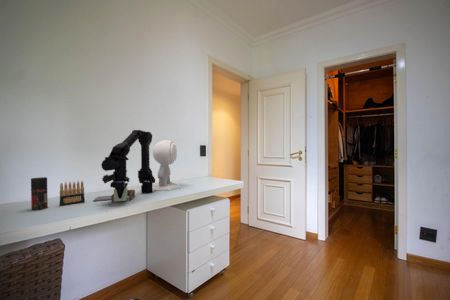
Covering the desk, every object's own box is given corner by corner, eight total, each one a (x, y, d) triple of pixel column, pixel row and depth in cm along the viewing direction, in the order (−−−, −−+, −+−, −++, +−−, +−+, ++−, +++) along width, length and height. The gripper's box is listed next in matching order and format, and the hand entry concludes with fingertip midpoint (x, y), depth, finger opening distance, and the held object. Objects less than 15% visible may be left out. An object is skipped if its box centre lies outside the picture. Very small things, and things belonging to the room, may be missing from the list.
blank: (127, 198, 118) (127, 188, 118) (126, 200, 114) (126, 189, 114) (115, 199, 116) (115, 188, 116) (113, 201, 112) (113, 190, 112)
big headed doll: (176, 190, 144) (176, 139, 144) (143, 190, 145) (142, 139, 144) (183, 185, 164) (182, 140, 164) (153, 185, 165) (153, 140, 164)
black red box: (34, 207, 105) (33, 177, 105) (49, 206, 107) (48, 177, 107) (29, 211, 99) (28, 179, 99) (45, 209, 102) (44, 178, 102)
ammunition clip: (59, 206, 107) (59, 182, 107) (59, 205, 109) (59, 182, 108) (84, 202, 114) (84, 180, 114) (84, 202, 116) (83, 180, 116)
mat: (114, 196, 128) (114, 195, 128) (111, 200, 119) (111, 198, 119) (98, 197, 125) (98, 196, 125) (93, 201, 116) (93, 200, 116)
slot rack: (134, 195, 131) (134, 189, 131) (131, 200, 118) (131, 194, 118) (116, 196, 128) (116, 190, 128) (111, 202, 115) (111, 195, 115)
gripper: (108, 167, 121) (108, 195, 122) (98, 171, 104) (99, 202, 104) (129, 167, 125) (129, 193, 125) (123, 170, 107) (123, 201, 107)
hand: (120, 197), depth 115 cm, fingers closed on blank, 4 cm apart
